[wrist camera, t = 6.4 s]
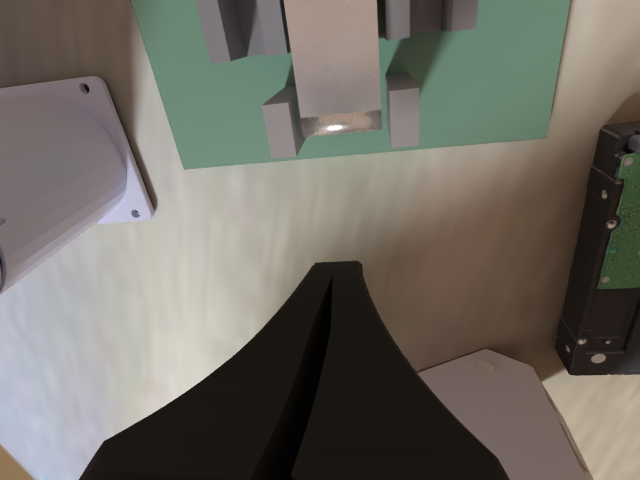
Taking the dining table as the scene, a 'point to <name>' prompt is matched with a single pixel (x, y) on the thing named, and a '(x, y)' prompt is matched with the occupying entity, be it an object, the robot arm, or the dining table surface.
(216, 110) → the board
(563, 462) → the game console
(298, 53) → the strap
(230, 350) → the dining table surface
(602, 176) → the disk drive
